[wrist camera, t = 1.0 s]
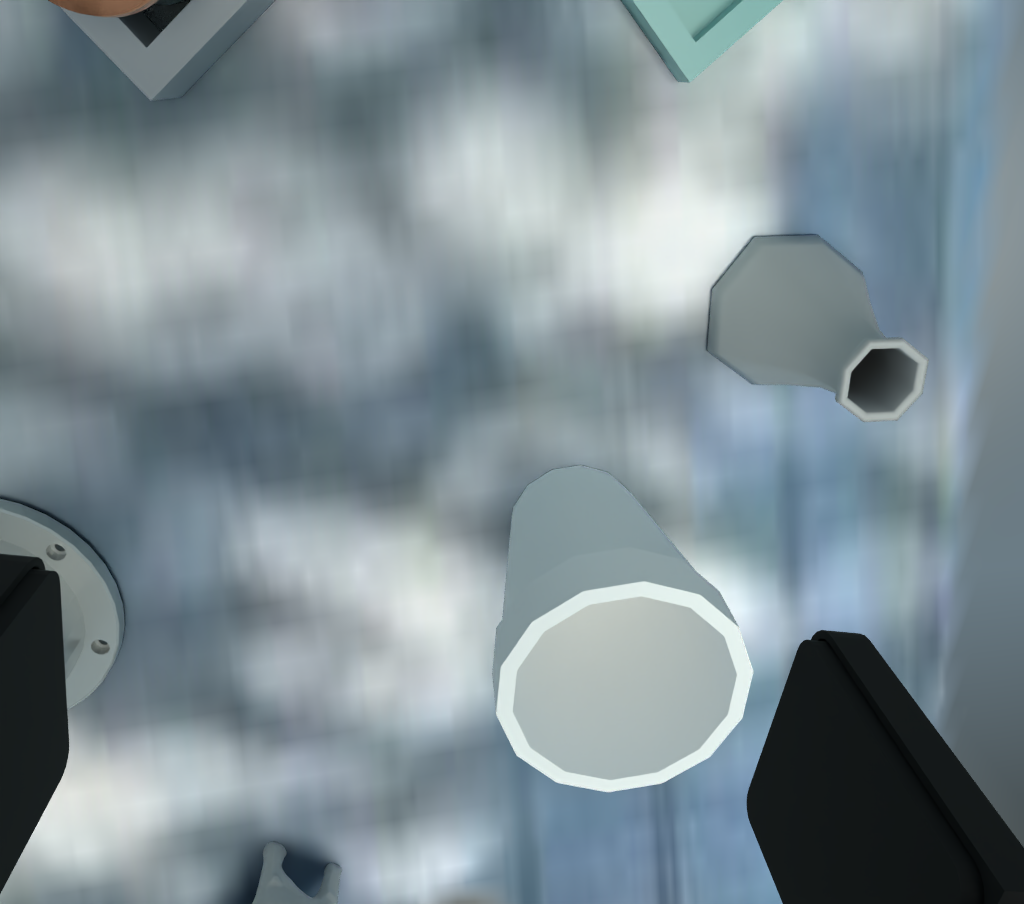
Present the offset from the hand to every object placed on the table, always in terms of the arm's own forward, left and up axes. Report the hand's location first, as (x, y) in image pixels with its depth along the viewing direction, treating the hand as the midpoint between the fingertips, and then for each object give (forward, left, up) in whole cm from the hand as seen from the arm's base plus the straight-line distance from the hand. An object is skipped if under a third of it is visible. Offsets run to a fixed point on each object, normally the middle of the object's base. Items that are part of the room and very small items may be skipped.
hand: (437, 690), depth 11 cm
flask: (+10, -12, -29) cm, 33 cm away
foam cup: (-4, -14, -29) cm, 33 cm away
